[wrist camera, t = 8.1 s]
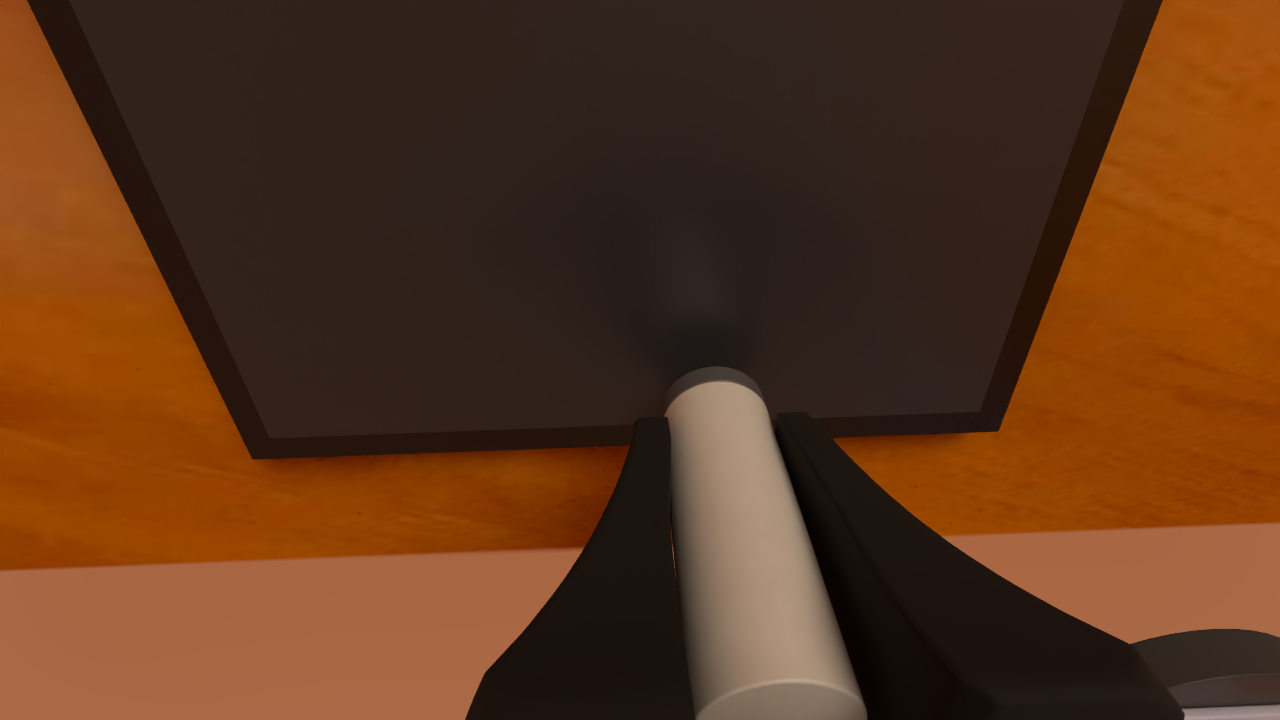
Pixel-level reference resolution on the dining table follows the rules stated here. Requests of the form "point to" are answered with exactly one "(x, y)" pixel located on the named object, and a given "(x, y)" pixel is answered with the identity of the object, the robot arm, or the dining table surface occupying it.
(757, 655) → the beige cylinder
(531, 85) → the tablet
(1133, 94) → the dining table surface
